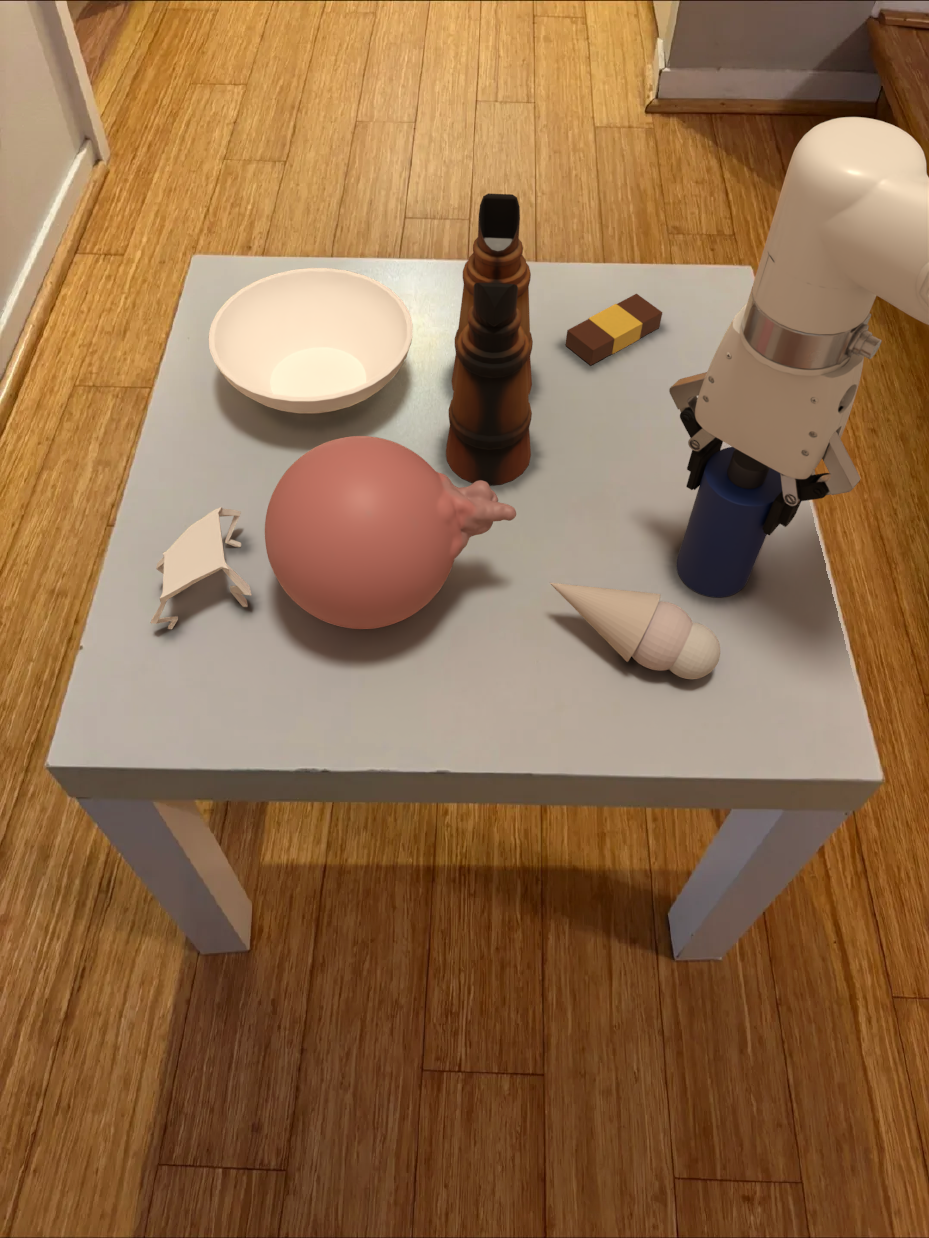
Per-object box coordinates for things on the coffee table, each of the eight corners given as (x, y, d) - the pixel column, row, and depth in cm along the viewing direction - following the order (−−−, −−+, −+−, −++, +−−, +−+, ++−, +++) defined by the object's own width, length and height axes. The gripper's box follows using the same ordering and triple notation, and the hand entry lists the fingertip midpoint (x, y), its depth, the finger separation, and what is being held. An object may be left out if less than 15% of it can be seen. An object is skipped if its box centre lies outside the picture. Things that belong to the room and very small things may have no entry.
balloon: (514, 664, 81) (526, 547, 68) (271, 665, 80) (238, 548, 68) (506, 521, 90) (516, 394, 77) (287, 522, 89) (261, 394, 77)
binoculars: (453, 353, 103) (454, 173, 86) (532, 356, 102) (548, 177, 86) (443, 483, 92) (441, 307, 76) (530, 487, 92) (547, 312, 76)
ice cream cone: (539, 605, 84) (699, 683, 83) (527, 624, 78) (699, 707, 77) (569, 542, 82) (733, 620, 81) (560, 557, 76) (736, 641, 75)
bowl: (449, 358, 102) (448, 304, 96) (350, 481, 92) (344, 428, 87) (291, 301, 107) (282, 246, 101) (182, 411, 97) (166, 357, 92)
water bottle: (762, 565, 87) (810, 454, 76) (723, 610, 84) (767, 501, 73) (701, 529, 89) (738, 416, 78) (662, 571, 87) (694, 460, 75)
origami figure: (250, 640, 82) (239, 606, 78) (150, 635, 82) (135, 601, 78) (273, 530, 89) (265, 493, 85) (182, 525, 89) (169, 489, 85)
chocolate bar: (633, 308, 107) (636, 292, 105) (659, 328, 105) (663, 312, 104) (564, 345, 104) (566, 329, 102) (591, 366, 102) (593, 350, 100)
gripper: (949, 351, 63) (854, 529, 78) (721, 242, 70) (673, 426, 84) (895, 412, 60) (807, 586, 75) (661, 292, 66) (622, 474, 81)
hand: (736, 500), depth 79 cm, fingers closed on water bottle, 6 cm apart
